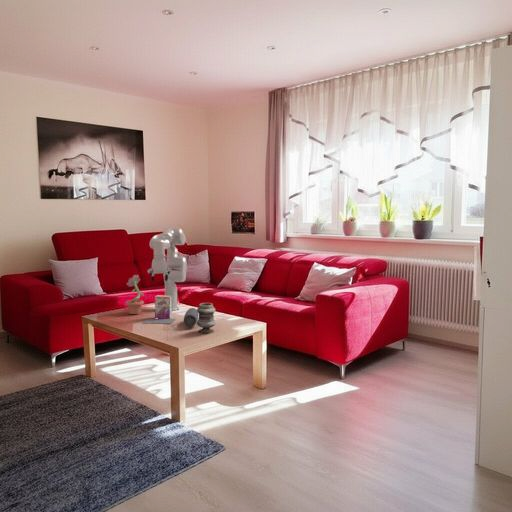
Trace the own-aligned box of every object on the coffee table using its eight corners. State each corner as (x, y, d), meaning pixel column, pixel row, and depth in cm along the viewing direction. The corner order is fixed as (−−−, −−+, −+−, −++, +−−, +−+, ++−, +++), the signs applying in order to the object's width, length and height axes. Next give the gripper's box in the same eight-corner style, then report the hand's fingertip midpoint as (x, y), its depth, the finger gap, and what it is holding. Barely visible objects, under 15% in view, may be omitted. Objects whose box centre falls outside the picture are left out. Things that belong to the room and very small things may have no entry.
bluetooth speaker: (197, 328, 299) (197, 313, 298) (183, 329, 298) (182, 314, 297) (199, 320, 321) (199, 307, 320) (185, 321, 320) (185, 307, 320)
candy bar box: (154, 318, 327) (154, 296, 325) (157, 317, 332) (156, 295, 330) (169, 319, 326) (169, 296, 324) (171, 317, 331) (171, 295, 329)
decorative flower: (137, 311, 353) (136, 272, 350) (148, 313, 345) (148, 274, 342) (121, 314, 341) (120, 274, 338) (133, 316, 333) (132, 276, 330)
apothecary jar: (195, 333, 286) (195, 305, 285) (198, 328, 298) (198, 302, 297) (214, 334, 286) (214, 305, 284) (216, 329, 298) (216, 302, 296)
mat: (148, 318, 326) (148, 318, 326) (176, 319, 325) (176, 318, 325) (142, 323, 312) (142, 322, 312) (171, 324, 311) (171, 323, 311)
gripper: (169, 256, 328) (169, 279, 330) (145, 257, 319) (146, 281, 321) (172, 257, 321) (173, 281, 323) (148, 258, 313) (149, 282, 314)
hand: (159, 281), depth 322 cm, fingers open, 9 cm apart
